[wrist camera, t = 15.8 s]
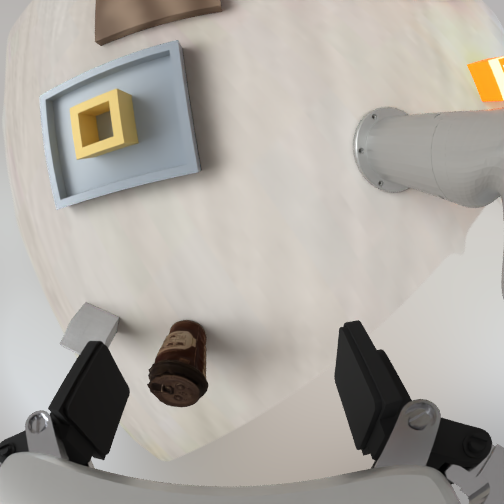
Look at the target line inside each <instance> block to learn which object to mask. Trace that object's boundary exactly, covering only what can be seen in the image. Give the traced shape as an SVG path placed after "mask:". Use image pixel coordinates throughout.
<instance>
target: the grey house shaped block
mask: <svg viewBox="0 0 504 504" xmlns="http://www.w3.org/2000/svg"><path fill="white" fill-rule="evenodd" d="M118 321H119V317H118V316H116V315H114V314H111V313H109V312H107V311H105V310H102V309H100V308H98V307H96V306H93V305H91V304H89V303H87V302H85V304H84V305H83V306H82V307H81V309H80V310H79V311H78V312H77V313H76V315H75V316H74V317H73V318H72V320H71V321H70V323H69V325H68V328H67V330H66V332H65V334H64V336H63V338H62V340H61V342H60V345H61V346H63V347H65V348H67V349H69V350H71V351H73V352H75V353H77V354H79V355H80V354H81V352H82V350H83V349H84V347H85V346H86V344H87V343H88V342H89V341H102V342H103V343H104V345H106V346H107V347H109V345H110V344H111V342H112V340H113V338H114V336H115V334H116V333H117V328H118Z"/></svg>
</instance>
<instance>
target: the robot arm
mask: <svg viewBox="0 0 504 504" xmlns="http://www.w3.org/2000/svg"><path fill="white" fill-rule="evenodd" d="M372 116H373V119H372ZM353 148H354V156H355V160H356V163H357V166H358V168H359V170H360V172H361V173H362V175H363V176H364V178H365V179H366V180H367V181H368V182H369V183H370V184H372V185H373V186H374V187H376V188H378V189H380V190H383V191H386V192H393V193H394V192H401V191H404V190H407V189H408V188H413V189H416V190H419V191H422V192H425V193H428V194H431V195H434V196H437V197H440V198H443V199H445V200H448V201H451V202H454V203H456V204H459V205H462V206H465V207H470V208H478V207H483V206H486V205H488V204H490V203H492V202H493V201H494V200H496V199H497V198H498V197H500V196H501V198H502V203H503V217H504V108H498V109H491V110H477V111H455V112H441V113H427V114H416V115H408V114H407V113H405V112H404V111H402V110H399V109H397V108H392V107H383V108H378V109H375V110H373V111H371V112H369V113H368V114H367V115H365V116H364V117H363V119H362V120H361V121H360V123H359V125H358V127H357V128H356V132H355V135H354V143H353ZM359 149H360V152H359ZM378 183H379V184H378ZM503 219H504V218H503ZM503 253H504V252H503ZM502 294H503V298H504V254H503V268H502ZM335 383H336V386H337V389H338V392H339V395H340V398H341V401H342V405H343V407H344V411H345V414H346V417H347V420H348V423H349V427H350V430H351V433H352V436H353V439H354V443H355V446H356V448H357V450H360V449H361V450H362V453H363V455H367V454H371V456H372V459H374V460H375V462H374V464H373V466H372V467H371V469H368V470H362V471H357V472H352V473H347V474H342V475H338V476H332V477H327V478H322V479H315V480H309V481H302V482H294V483H286V484H276V485H263V486H240V487H217V486H194V485H182V484H172V483H163V482H156V481H150V480H144V479H138V478H133V477H127V476H123V475H118V474H114V473H110V472H106V471H102V470H98V469H95V468H94V466H93V464H92V461H91V457H92V456H93V457H94V458H98V459H102V460H104V459H105V456H106V455H107V454H108V453H109V451H110V448H111V445H112V442H113V439H114V436H115V433H116V430H117V427H118V424H119V422H120V419H121V416H122V413H123V410H124V408H125V405H126V402H127V399H128V397H129V393H130V391H129V387H128V385H127V383H126V381H125V380H124V378H123V376H122V374H121V372H120V371H119V369H118V367H117V365H116V363H115V361H114V359H113V357H112V355H111V353H110V351H109V349H108V347H107V346H106V345H104V343H103V342H102V341H89V342H88V343H87V344H86V346H85V347H84V349H83V350H82V352H81V354H80V355H79V357H78V358H77V360H76V362H75V363H74V365H73V366H72V368H71V370H70V372H69V373H68V375H67V376H66V378H65V380H64V381H63V383H62V385H61V386H60V388H59V390H58V392H57V393H56V395H55V397H54V399H53V400H52V402H51V404H50V406H49V408H48V409H49V410H50V411H51V413H50V415H49V414H48V413H47V412H45V411H36V412H34V413H32V414H31V415H30V416H29V417H28V419H27V421H26V424H25V431H23V432H21V433H19V434H17V435H14V436H12V437H10V438H8V439H5V440H4V441H2V442H1V443H0V504H460V501H459V499H458V497H457V495H456V493H455V491H454V489H453V487H452V486H451V484H454V483H455V484H456V485H458V486H459V487H461V489H460V490H461V491H462V492H464V493H465V494H466V495H467V496H468V499H469V504H504V448H503V447H501V446H500V445H498V444H497V445H496V446H494V445H492V440H491V437H490V435H489V434H488V433H487V432H486V431H485V430H483V429H480V428H477V427H473V426H469V425H465V424H462V423H458V422H454V421H451V420H448V419H444V418H441V414H440V410H439V409H438V407H437V406H436V405H435V404H434V403H432V402H430V401H428V400H423V399H418V400H413V401H412V400H411V399H410V396H409V394H408V392H407V391H406V389H405V387H404V385H403V383H402V382H401V380H400V378H399V376H398V375H397V372H396V371H395V369H394V367H393V365H392V363H391V362H390V360H389V358H388V357H387V355H386V353H385V352H384V351H383V350H376V348H375V346H374V345H373V343H372V341H371V339H370V337H369V336H368V334H367V332H366V330H365V329H364V327H363V325H362V324H361V322H360V321H359V320H358V321H352V322H346V323H344V327H340V329H339V338H338V349H337V358H336V367H335Z"/></svg>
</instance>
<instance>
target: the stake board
mask: <svg viewBox="0 0 504 504" xmlns="http://www.w3.org/2000/svg"><path fill="white" fill-rule="evenodd" d="M216 12H222V9H221V2H220V0H96V10H95V42H96V43H98V44H99V45H101V46H102V45H104V44H106V43H109V42H111V41H114V40H116V39H119V38H121V37H124V36H127V35H130V34H133V33H135V32H138V31H141V30H145V29H148V28H151V27H154V26H158V25H161V24H165V23H169V22H172V21H176V20H181V19H185V18H189V17H194V16H199V15H204V14H210V13H216Z"/></svg>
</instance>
